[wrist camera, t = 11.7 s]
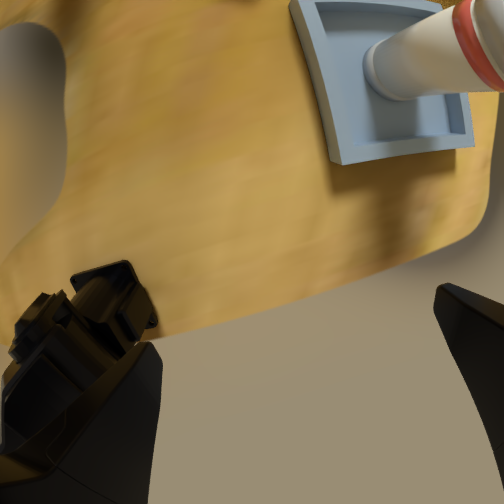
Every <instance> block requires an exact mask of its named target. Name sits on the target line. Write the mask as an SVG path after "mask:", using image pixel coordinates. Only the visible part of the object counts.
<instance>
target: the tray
mask: <svg viewBox="0 0 504 504" xmlns="http://www.w3.org/2000/svg"><path fill="white" fill-rule="evenodd" d="M288 6H289V9H290V12H291V15H292V18H293V21H294V23H295V26H296V29H297V32H298V36H299V39H300V42H301V45H302V48H303V51H304V55H305V58H306V62H307V65H308V69H309V72H310V76H311V79H312V83H313V87H314V91H315V95H316V99H317V103H318V107H319V111H320V115H321V119H322V124H323V128H324V133H325V137H326V142H327V147H328V152H329V157H330V161H332V162H334V163H337V164H340V165H347V164H353V163H358V162H364V161H370V160H376V159H382V158H388V157H394V156H401V155H408V154H415V153H422V152H430V151H438V150H447V149H456V148H466V147H475V143H474V133H473V124H472V117H471V110H470V104H469V99H468V93H455V94H444V95H434V96H426V97H418V98H416V99H413V100H407V101H400V102H395V101H390V100H387V99H385V98H383V97H381V96H380V95H379V94H377V93H376V92H375V91H374V90H373V89H372V88H371V86H370V85H369V83H368V82H367V80H366V78H365V75H364V72H363V64H362V63H363V57H364V54H365V52H366V51H367V50H368V49H369V48H370V47H371V46H373V45H375V44H376V43H378V42H380V41H381V40H384V39H388V38H390V37H391V36H393V35H395V34H397V33H399V32H400V31H402V30H404V29H406V28H408V27H410V26H412V25H414V24H416V23H418V22H420V21H422V20H424V19H426V18H428V17H430V16H432V15H434V14H436V13H438V12H440V11H443V8H442V6H441V4H438V3H434V2H430V1H426V0H291V1H290V3H289V5H288Z"/></svg>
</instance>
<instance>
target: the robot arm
mask: <svg viewBox="0 0 504 504" xmlns="http://www.w3.org/2000/svg"><path fill="white" fill-rule="evenodd" d="M123 265H125V266H126V267H127V268H124V267H123ZM75 279H76V281H75ZM70 282H71V284H72V286H73V288H74V290H75V291H76V295H75V296H74V297H73V298H72V300H71V301H69V300H68V298H67V297H66V296H67V295H66V294H65V292H64V291H63V290H60V291H59V292H58V293H57V294H55V293H54V294H52V295H48V294H45V293H43V292H42V293H41V294H40V295H39V296H38V297H37V298H36V300H35V301H34V302H33V303H32V304H31V305H30V306H29V307H28V308H27V310H26V311H25V312H24V313H23V314H22V316H21V317H20V318H19V320H18V321H17V322H16V324H15V337H14V339H13V341H12V345H11V347H10V349H9V351H8V354H9V355H10V356H11V357H12V358H13V359H14V360H13V361H12V362H11V364H10V365H9V366H8V367H7V369H6V370H5V372H4V374H3V375H2V381H1V398H0V504H148V494H149V484H150V475H151V467H152V459H153V452H154V444H155V438H156V430H157V424H158V418H159V411H160V402H161V385H162V371H163V363H162V359H161V357H160V356H159V354H158V352H157V351H156V349H155V347H154V345H153V344H152V343H151V342H149V341H148V342H139V343H137V344H136V345H135V343H136V341H140V339H141V336H142V334H143V331H144V329H149V328H154V327H156V326H157V323H158V320H157V318H156V316H155V314H154V312H153V307H152V305H151V303H150V301H149V299H148V297H147V295H146V293H145V291H144V288H143V286H142V284H141V283H139V281H138V279H137V277H136V275H135V272H134V270H133V268H132V266H131V264H130V262H129V261H127V260H122V261H118V262H114V263H111V264H107V265H104V266H101V267H97V268H94V269H90V270H87V271H83V272H80V273H77V274H74V275H72V277H71V278H70ZM433 309H434V314H435V316H436V319H437V321H438V323H439V326H440V328H441V330H442V332H443V335H444V337H445V340H446V342H447V345H448V347H449V349H450V352H451V354H452V356H453V358H454V360H455V361H456V363H457V366H458V368H459V370H460V372H461V374H462V376H463V378H464V380H465V382H466V384H467V387H468V389H469V391H470V393H471V396H472V398H473V400H474V402H475V405H476V407H477V410H478V412H479V414H480V417H481V419H482V422H483V425H484V427H485V430H486V433H487V435H488V438H489V441H490V444H491V447H492V450H493V453H494V457H495V460H496V463H497V466H498V470H499V473H500V477H501V481H502V485H503V489H504V305H503V304H501V303H498V302H496V301H493V300H491V299H489V298H486V297H484V296H481V295H479V294H476V293H474V292H471V291H469V290H466V289H464V288H461V287H459V286H456V285H453V284H451V283H445V284H441V285H439V286H438V287H437V289H436V295H435V301H434V307H433ZM150 321H152V322H154V323H152V322H150ZM134 345H135V346H134Z"/></svg>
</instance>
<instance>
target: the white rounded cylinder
mask: <svg viewBox="0 0 504 504" xmlns="http://www.w3.org/2000/svg"><path fill="white" fill-rule="evenodd" d="M362 64H363V72H364V75H365V78H366V80H367V82H368V83H369V85H370V86H371V88H372V89H373V90H374V91H375V92H376V93H377V94H379V95H380V96H381V97H383V98H385V99H387V100H390V101H395V102H400V101H407V100H413V99H416V98H418V97H426V96H434V95H444V94H455V93H469V92H492V91H497V92H504V0H463V1H460V2H458V3H457V4H456V5H454V6H452V7H449V8H447V9H445V10H443V11H440V12H438V13H436V14H434V15H432V16H430V17H428V18H426V19H424V20H422V21H420V22H418V23H416V24H414V25H412V26H410V27H408V28H406V29H404V30H402V31H400V32H399V33H397V34H395V35H393V36H391V37H390V38H388V39H384V40H381V41H380V42H378V43H376V44H375V45H373V46H371V47H370V48H369V49H368V50H367V51H366V52H365V54H364V57H363V63H362Z"/></svg>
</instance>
